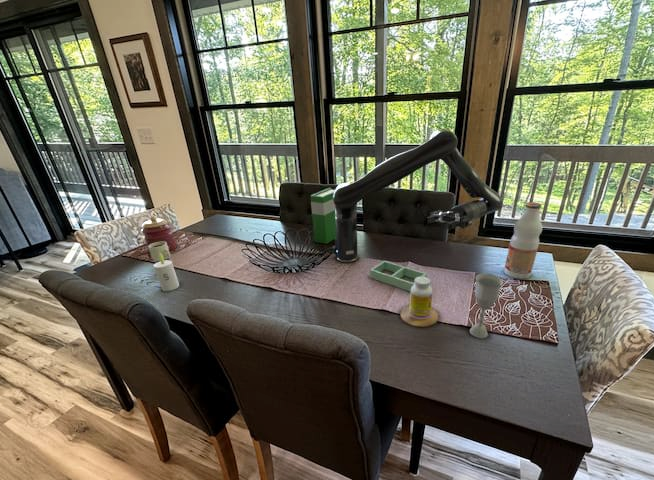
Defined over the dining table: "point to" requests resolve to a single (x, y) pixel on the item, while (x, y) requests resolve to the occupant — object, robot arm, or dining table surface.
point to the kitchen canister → (158, 232)
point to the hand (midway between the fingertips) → (438, 223)
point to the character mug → (157, 248)
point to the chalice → (485, 299)
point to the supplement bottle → (421, 298)
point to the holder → (395, 275)
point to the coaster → (415, 322)
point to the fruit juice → (524, 243)
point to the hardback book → (323, 216)
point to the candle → (166, 274)
